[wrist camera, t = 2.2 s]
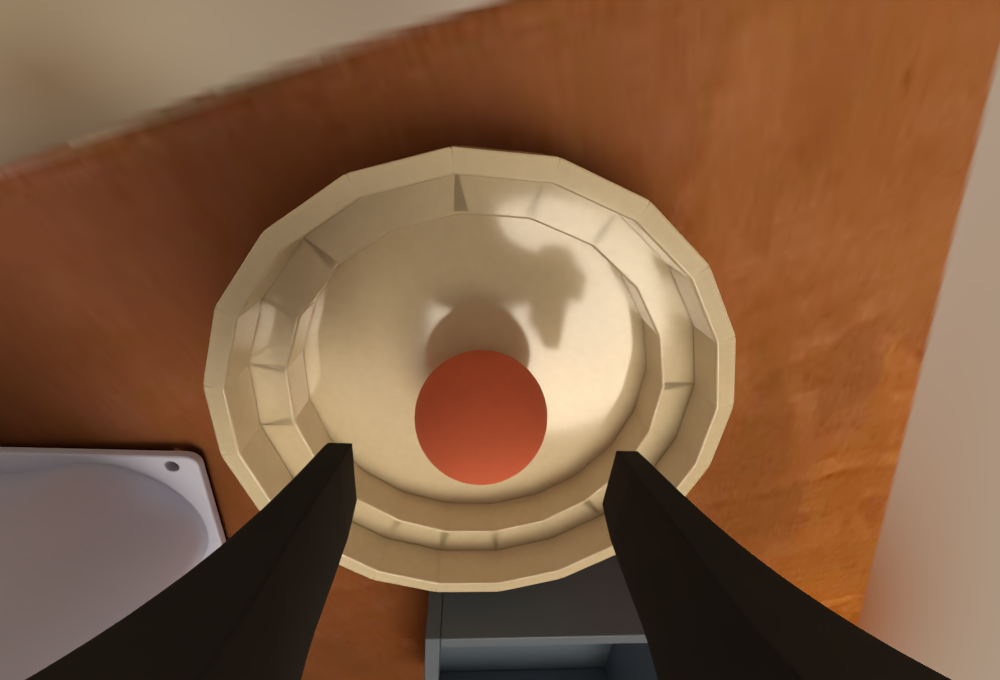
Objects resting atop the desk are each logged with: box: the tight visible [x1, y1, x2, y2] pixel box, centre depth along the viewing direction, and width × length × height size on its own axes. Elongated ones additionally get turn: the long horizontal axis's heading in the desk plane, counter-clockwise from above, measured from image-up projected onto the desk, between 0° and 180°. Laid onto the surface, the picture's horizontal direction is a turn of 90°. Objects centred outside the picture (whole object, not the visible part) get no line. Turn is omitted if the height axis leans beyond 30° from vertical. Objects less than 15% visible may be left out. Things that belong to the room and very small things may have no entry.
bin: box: [424, 555, 658, 680], centre depth 21 cm, size 11×11×4 cm
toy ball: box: [414, 350, 547, 485], centre depth 14 cm, size 4×4×4 cm
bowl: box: [203, 145, 736, 592], centre depth 15 cm, size 16×16×4 cm
